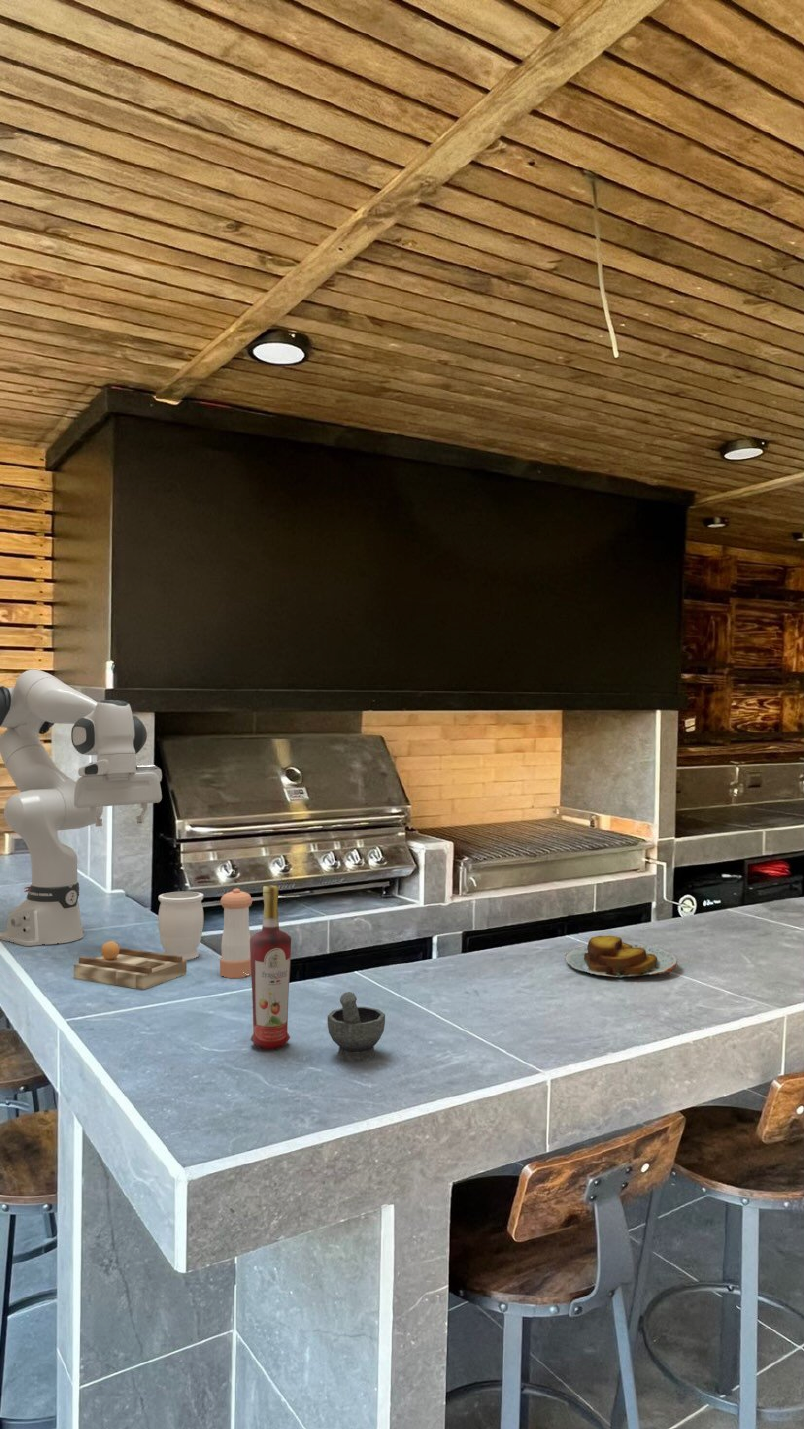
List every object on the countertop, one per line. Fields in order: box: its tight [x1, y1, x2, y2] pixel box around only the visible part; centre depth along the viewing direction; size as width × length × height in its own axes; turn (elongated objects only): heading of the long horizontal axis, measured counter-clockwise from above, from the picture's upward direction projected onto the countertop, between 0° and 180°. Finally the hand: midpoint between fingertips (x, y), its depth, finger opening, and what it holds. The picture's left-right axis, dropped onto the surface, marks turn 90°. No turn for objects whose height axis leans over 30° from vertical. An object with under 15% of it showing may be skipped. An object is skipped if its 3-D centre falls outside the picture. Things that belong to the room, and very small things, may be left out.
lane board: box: [73, 947, 188, 991], centre depth 211 cm, size 20×14×4 cm
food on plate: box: [564, 935, 678, 984], centre depth 220 cm, size 25×25×7 cm
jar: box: [157, 891, 204, 961], centre depth 228 cm, size 11×10×15 cm
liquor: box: [250, 885, 292, 1051], centre depth 167 cm, size 7×7×28 cm
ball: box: [100, 940, 120, 960], centre depth 214 cm, size 4×4×4 cm
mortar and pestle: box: [327, 991, 386, 1063], centre depth 162 cm, size 11×9×12 cm
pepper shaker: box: [219, 888, 253, 979], centre depth 213 cm, size 7×7×19 cm
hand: (119, 824), depth 226 cm, fingers open, 8 cm apart
